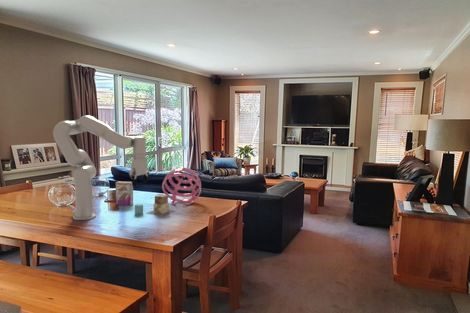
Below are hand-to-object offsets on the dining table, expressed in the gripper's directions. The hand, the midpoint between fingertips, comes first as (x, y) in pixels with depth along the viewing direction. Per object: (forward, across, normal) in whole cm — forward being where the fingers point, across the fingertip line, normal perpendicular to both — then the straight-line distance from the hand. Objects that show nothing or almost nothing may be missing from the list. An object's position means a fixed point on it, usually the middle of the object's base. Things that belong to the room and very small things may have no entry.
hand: (139, 184), depth 198 cm
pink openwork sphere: (+21, -42, +3) cm, 47 cm away
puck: (+21, -4, -4) cm, 21 cm away
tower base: (+20, -14, +5) cm, 25 cm away
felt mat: (+21, -14, +5) cm, 26 cm away
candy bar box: (+21, -19, -31) cm, 42 cm away
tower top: (+14, -14, +5) cm, 21 cm away
